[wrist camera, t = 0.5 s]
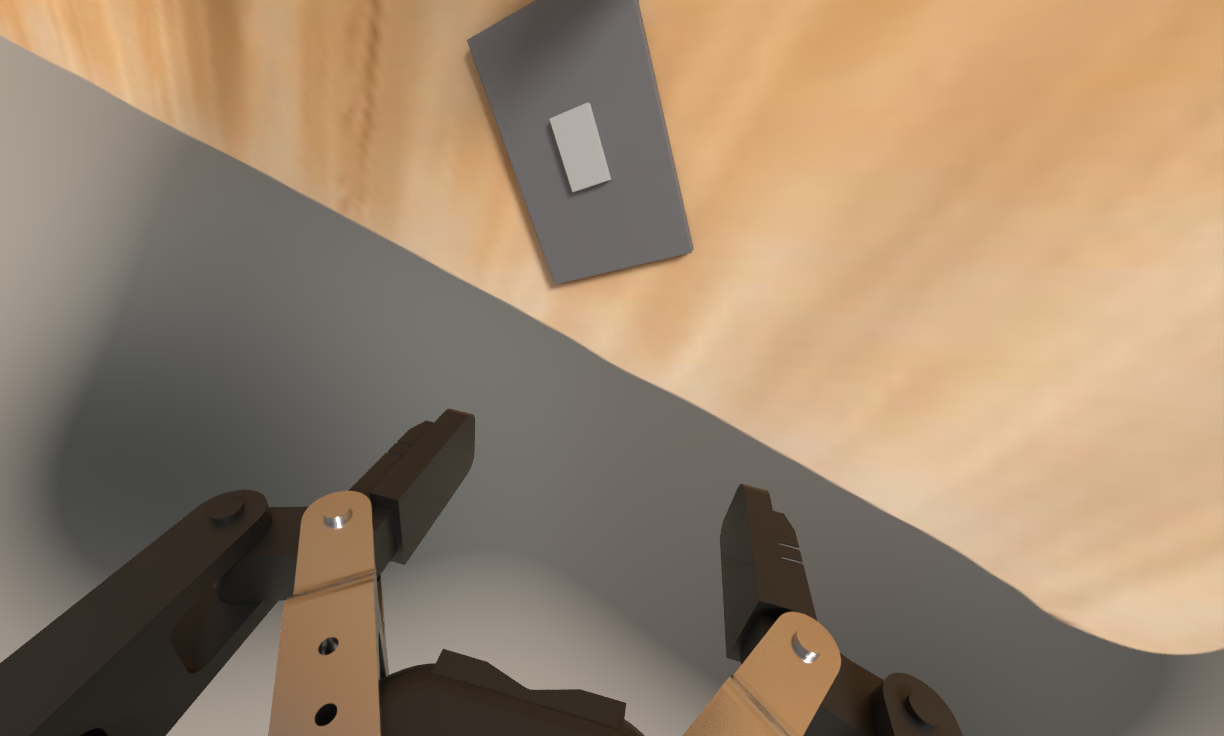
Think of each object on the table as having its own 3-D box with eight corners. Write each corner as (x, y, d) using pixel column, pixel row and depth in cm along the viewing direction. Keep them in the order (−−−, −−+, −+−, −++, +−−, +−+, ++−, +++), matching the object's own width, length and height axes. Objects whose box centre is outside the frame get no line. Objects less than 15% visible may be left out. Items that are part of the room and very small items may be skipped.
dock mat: (475, 42, 31) (461, 38, 30) (628, -45, 26) (620, -54, 25) (559, 281, 38) (551, 286, 37) (693, 249, 33) (689, 254, 31)
